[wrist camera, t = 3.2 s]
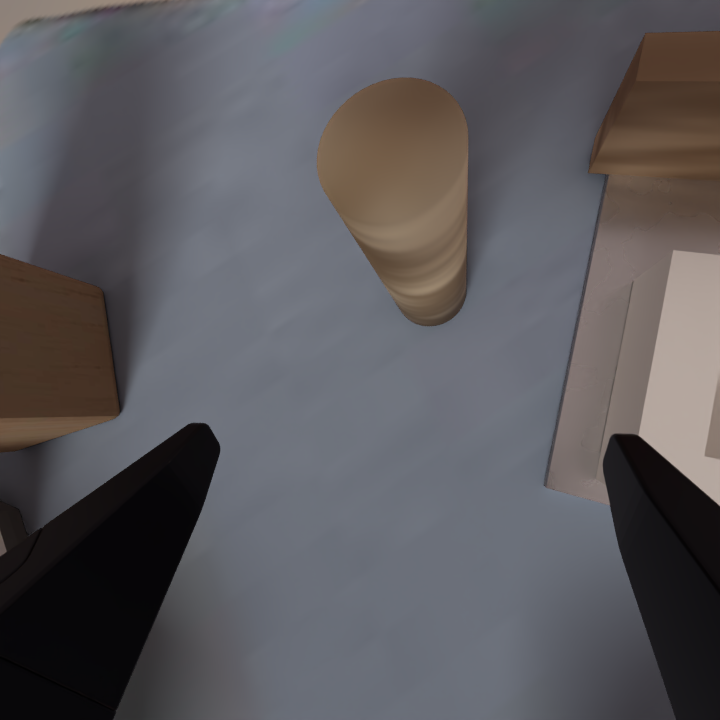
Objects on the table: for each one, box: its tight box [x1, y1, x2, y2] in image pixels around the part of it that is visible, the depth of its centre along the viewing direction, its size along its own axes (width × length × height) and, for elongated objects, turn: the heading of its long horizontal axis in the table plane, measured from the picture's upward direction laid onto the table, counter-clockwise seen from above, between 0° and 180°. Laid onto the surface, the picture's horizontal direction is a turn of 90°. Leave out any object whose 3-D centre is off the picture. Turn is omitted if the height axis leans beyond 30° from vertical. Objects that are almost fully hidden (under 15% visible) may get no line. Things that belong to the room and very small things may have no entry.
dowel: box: [317, 78, 468, 326], centre depth 16 cm, size 4×4×13 cm
